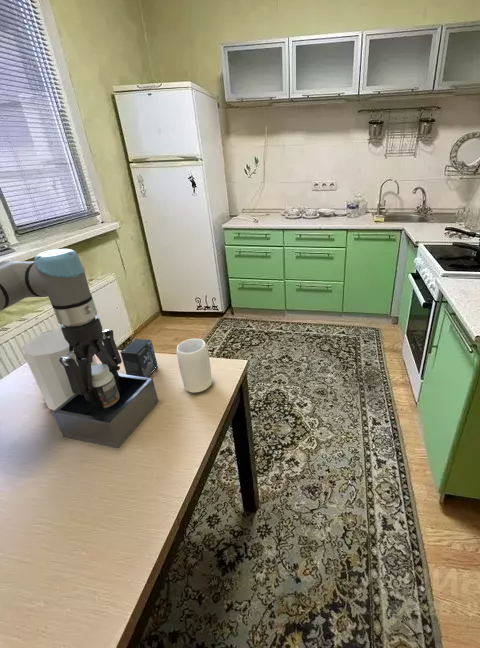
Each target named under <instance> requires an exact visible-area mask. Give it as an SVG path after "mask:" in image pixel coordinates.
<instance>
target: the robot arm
mask: <svg viewBox="0 0 480 648" xmlns="http://www.w3.org/2000/svg"><path fill="white" fill-rule="evenodd" d="M46 297H48V300H49V302H50V304H51V307H52V309H53V312H54V314H55V317H56V321H57V323H58V324H59V325H60V326H59V327H60V328H61V330H62V333H63V335H64V338H65V340H66V341H67V342H68V343H69V353H68V354H67V355H66V356H65V357H61V358H60V359H59V362H60V363H61V364H62V365H63V366H64V368H65V371H66V374H67V377H68V380H69V383H70V386H71V389H72V392H73V393H74V394H80V395H84V397H85V400H86V401H87V402H90V405H91V408H92V410H97V411H102V410H103V409H104V408H103V405H102V403H101V400H100V397H99V394H98V392H97V389H96V388H93V386H92V370H91V363H92V362H93V356H95V357H97V358H98V360H99V361H100V362H101V364H106V365H108V367H109V371H110V372H111V373H112V374H113V376H114V379H115V382H116V385H117V389H118V392H119V393H121V392H122V390H121V387H120V384H119V381H118V379H119V375H118V374H119V371H120V369H121V364H122V363H123V360H122V357H121V354H120V352H119V350H118V346H117V343H116V341H115V339H114V330H113V329H106V328H103V326H102V323H101V319H100V316H99V315H98V310H97V308H96V305H95V301H94V297H93V295H92V293H91V289H90V287H89V283H88V280H87V276H86V272H85V267H84V265H83V264H82V261H81V259H80V256H79V254H78V253H77V251H75V250H73V249H70V248H58V249H49V250H45V251H43V252H40V253H38V254H37V255H35V257H34V261H13V260H11V261H9V260H3V261H0V312H1V311H4V310H6V309H8V308H9V307H11V306H13V305H16V304H17V303H19V302H20V301H22V300H24V299H28V298H46ZM60 328H59V329H60ZM75 356H76V359H75ZM76 362H77V363H78V365H77V363H76Z"/></svg>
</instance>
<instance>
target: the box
mask: <svg viewBox="0 0 480 648" xmlns="http://www.w3.org/2000/svg"><path fill="white" fill-rule="evenodd" d="M119 354H120V357H121V360H122V364H123V366H124V371H125V375H132V376H139V377H146V378H150V377H151V375H152V374H153V373H154V372H155V371H157V369H158V368H159V366H157V365H158V362H157V361H158V360H157V358H156V354H155V348H154V345H153V340H152V339H146V338H134V340H132V341H131V342H130V343H129V344H128V345H127V346H125V347H124V348H123V349H122V350H120V352H119ZM155 367H156V368H155ZM154 369H155V370H154ZM153 370H154V371H153ZM152 371H153V372H152ZM151 372H152V373H151Z"/></svg>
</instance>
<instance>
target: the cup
mask: <svg viewBox="0 0 480 648" xmlns="http://www.w3.org/2000/svg"><path fill="white" fill-rule="evenodd" d="M176 358H177V364H178V370H179V373H180V377H181V381H182V384H183V387H184V389H185V390H186V391H187V392H190V393H200V392H204V391H205V390H207V389H208V388H209V387H210V386H211V385H212V382H213V379H212V367H211V362H210V361H211V360H210V355H209V351H208V346H207V343H206V341H205V340H204V339H201V338H188V339H185V340H183V341H181V342H180V343H178V344H177V346H176Z"/></svg>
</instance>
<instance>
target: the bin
mask: <svg viewBox="0 0 480 648" xmlns="http://www.w3.org/2000/svg"><path fill="white" fill-rule="evenodd" d="M118 375H119V379H118V381H119V384H120V387H121V390H122V392H121V393H119V396H120V397H119V400H118V401H117V402H116V403H115V404H114V405H112V406H110V407H107V408H104V409H103V410H102V411H97V410H92V408H91V405H90V402H87V401H86V400H85V397H84V395H80V394H74V395H73V396H71V397H70V398H69V399H68V400H67V401H65V402H64V403H63V404H62V405H60V406H59V407H58V408H57V409H56V410H52V412H51V414H52V416H53V417H54V420H55V422H56V424H57V426H58V429H59V431H60V433H61V435H62V438H66V439H71V440H75V441H81V442H84V443H90V444H96V445H100V446H105V447H109V448H115V449H120V447H122V445H123V444H124V443H125V442H126V441H127V440H128V438H129V437H130V436H131V435H132V434H133V432H135V430H136V429H137V428H138V426H139V425H140V424H141V423H142V422H143V421H144V419H145V418H146V417H147V416H148V415H149V414H150V412H152V410H153V409H154V408H155V407H156V406H157V404H158V403H159V396H158V394H157V390H156V386H155V382H154V379H153V378H152V377H148V378H146V377H139V376H132V375H127V374H126V373H118Z"/></svg>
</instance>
